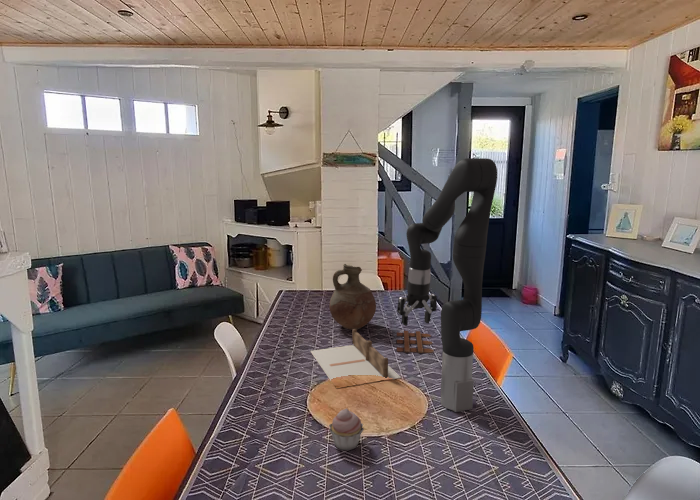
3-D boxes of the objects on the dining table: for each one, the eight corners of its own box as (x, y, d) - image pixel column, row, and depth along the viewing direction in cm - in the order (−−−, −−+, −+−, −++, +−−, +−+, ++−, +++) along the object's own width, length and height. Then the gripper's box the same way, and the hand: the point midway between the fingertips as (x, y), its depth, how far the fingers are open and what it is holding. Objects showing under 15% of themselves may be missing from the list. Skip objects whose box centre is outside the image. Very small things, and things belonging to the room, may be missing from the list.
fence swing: (369, 356, 175) (369, 341, 174) (364, 356, 174) (365, 341, 173) (355, 342, 188) (355, 328, 187) (351, 343, 188) (351, 329, 187)
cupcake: (371, 442, 120) (371, 408, 118) (347, 459, 113) (347, 422, 112) (345, 429, 126) (345, 396, 125) (321, 444, 119) (321, 409, 118)
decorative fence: (396, 354, 180) (434, 355, 179) (396, 350, 180) (434, 351, 178) (396, 334, 203) (430, 335, 201) (396, 330, 202) (430, 331, 201)
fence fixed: (389, 377, 158) (389, 357, 157) (383, 378, 157) (383, 358, 156) (370, 358, 174) (370, 340, 173) (364, 359, 174) (364, 340, 172)
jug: (383, 331, 204) (384, 267, 198) (339, 338, 196) (338, 271, 191) (364, 317, 223) (364, 258, 218) (323, 323, 216) (322, 261, 211)
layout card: (401, 377, 158) (401, 377, 158) (336, 388, 150) (336, 388, 150) (365, 343, 189) (365, 343, 189) (310, 351, 181) (310, 350, 181)
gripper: (405, 285, 148) (402, 330, 152) (442, 281, 153) (439, 325, 157) (395, 278, 155) (393, 321, 159) (431, 275, 160) (428, 317, 164)
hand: (416, 323), depth 158 cm, fingers open, 8 cm apart
